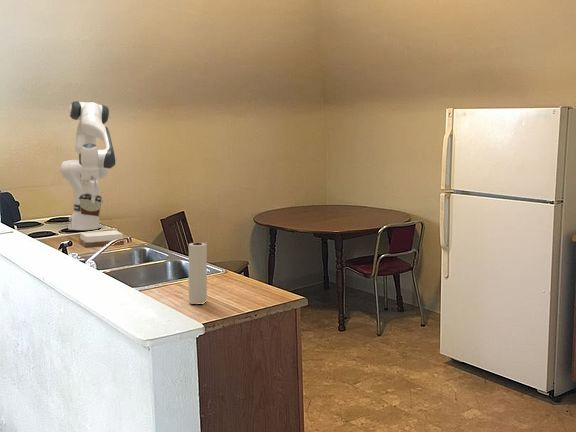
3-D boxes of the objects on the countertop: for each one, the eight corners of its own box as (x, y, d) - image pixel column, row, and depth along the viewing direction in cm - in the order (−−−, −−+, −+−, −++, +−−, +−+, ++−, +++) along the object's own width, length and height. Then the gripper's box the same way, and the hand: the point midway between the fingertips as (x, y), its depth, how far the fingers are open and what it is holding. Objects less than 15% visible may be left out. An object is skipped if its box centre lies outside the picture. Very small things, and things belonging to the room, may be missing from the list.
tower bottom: (79, 244, 338) (79, 238, 337) (116, 241, 347) (116, 235, 347) (85, 249, 327) (85, 242, 326) (124, 245, 336) (123, 239, 336)
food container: (105, 212, 353) (105, 195, 349) (101, 217, 347) (102, 199, 344) (82, 209, 353) (82, 191, 349) (78, 213, 347) (78, 195, 343)
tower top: (80, 238, 337) (80, 232, 337) (115, 235, 346) (115, 230, 346) (86, 242, 327) (86, 236, 326) (122, 239, 336) (122, 233, 336)
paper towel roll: (191, 306, 231) (191, 245, 228) (186, 301, 236) (186, 242, 233) (211, 304, 234) (211, 244, 230) (206, 300, 239) (206, 241, 236)
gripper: (101, 177, 337) (102, 204, 339) (91, 173, 354) (92, 199, 357) (89, 178, 334) (90, 205, 336) (79, 173, 351) (80, 199, 353)
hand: (90, 202), depth 347 cm, fingers closed on food container, 6 cm apart
